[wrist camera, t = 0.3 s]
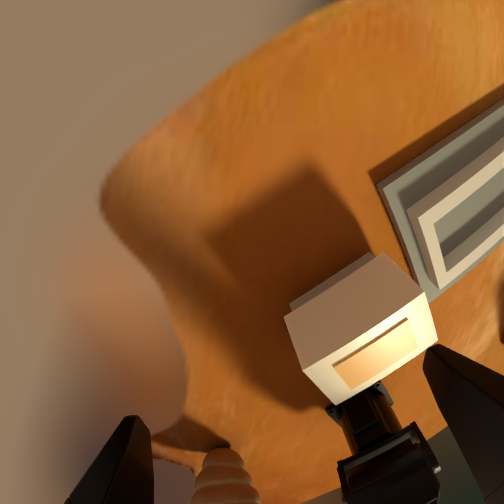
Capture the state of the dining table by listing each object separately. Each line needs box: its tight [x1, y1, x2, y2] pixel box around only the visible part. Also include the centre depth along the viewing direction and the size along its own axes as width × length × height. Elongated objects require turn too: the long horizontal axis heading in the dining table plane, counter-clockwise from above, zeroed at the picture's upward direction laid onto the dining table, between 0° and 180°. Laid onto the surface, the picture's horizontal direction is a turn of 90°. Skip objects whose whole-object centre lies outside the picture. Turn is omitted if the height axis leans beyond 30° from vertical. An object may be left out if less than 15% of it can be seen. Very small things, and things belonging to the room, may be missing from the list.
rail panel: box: [376, 98, 504, 304], centre depth 20 cm, size 12×20×2 cm, turn 123°
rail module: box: [284, 252, 438, 406], centre depth 20 cm, size 5×8×7 cm, turn 124°
